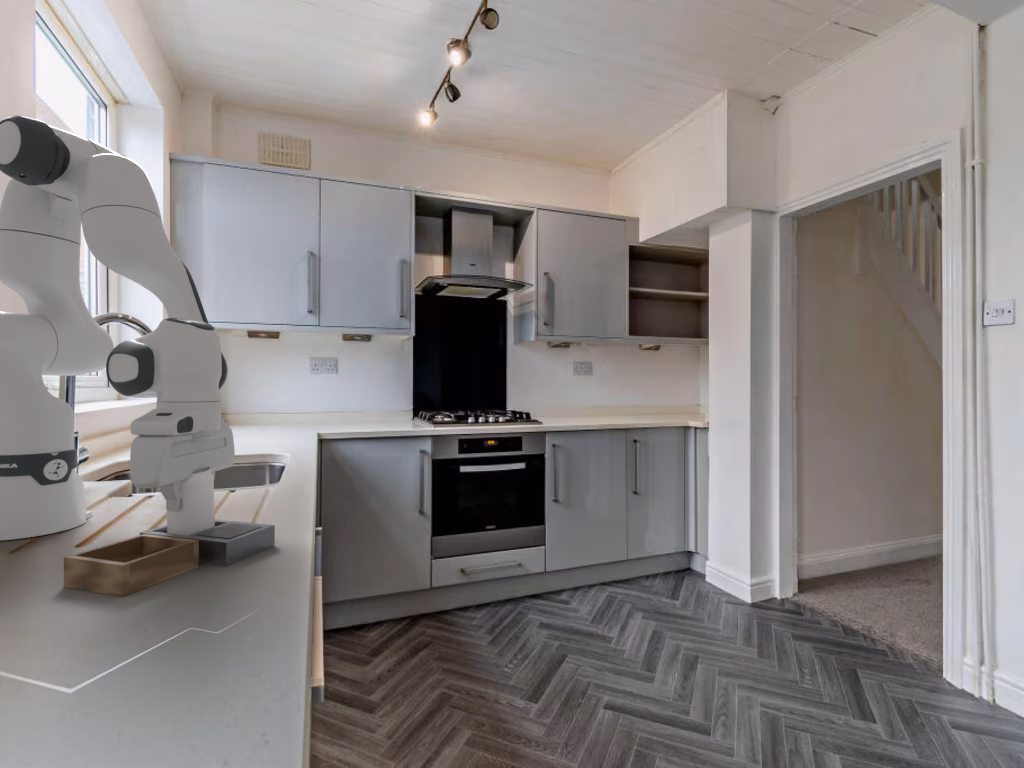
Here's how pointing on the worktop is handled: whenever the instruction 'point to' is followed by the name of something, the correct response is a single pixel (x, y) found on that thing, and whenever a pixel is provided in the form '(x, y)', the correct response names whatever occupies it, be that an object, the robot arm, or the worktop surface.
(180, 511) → the can
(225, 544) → the tray
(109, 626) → the worktop surface
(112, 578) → the box
